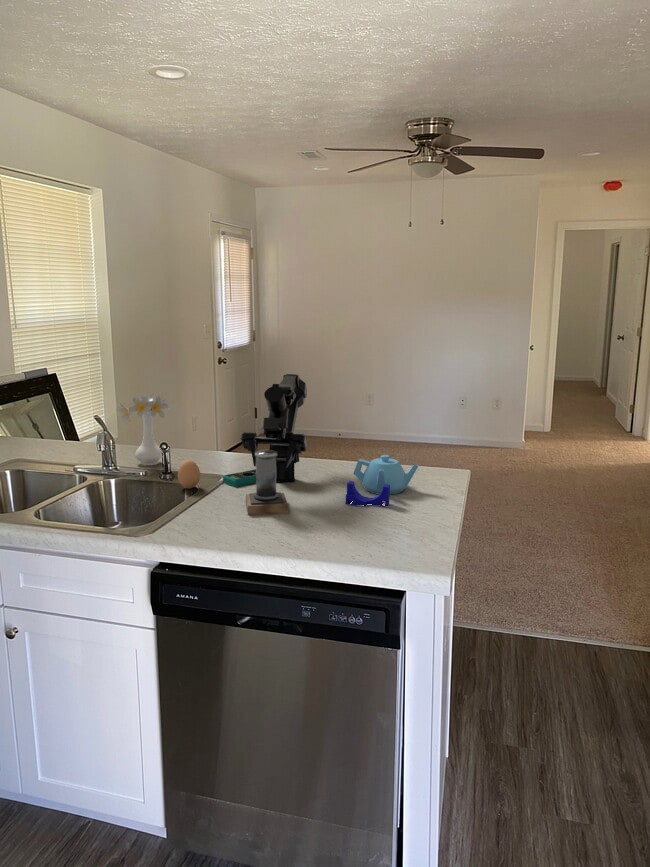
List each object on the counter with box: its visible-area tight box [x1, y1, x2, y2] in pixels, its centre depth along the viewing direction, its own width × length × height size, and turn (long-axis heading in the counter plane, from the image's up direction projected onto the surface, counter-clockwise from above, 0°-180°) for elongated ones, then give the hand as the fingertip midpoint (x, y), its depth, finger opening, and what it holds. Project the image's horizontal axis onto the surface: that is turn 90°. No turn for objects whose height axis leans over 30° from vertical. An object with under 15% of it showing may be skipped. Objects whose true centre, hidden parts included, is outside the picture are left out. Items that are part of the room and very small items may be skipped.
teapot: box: [352, 454, 419, 495], centre depth 207 cm, size 15×15×11 cm
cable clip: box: [344, 480, 391, 507], centre depth 192 cm, size 12×4×6 cm, turn 75°
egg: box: [177, 459, 201, 490], centre depth 205 cm, size 7×7×9 cm
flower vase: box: [116, 391, 172, 467], centre depth 231 cm, size 13×18×25 cm
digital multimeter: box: [222, 468, 256, 488], centre depth 215 cm, size 7×15×3 cm, turn 131°
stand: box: [245, 491, 289, 516], centre depth 188 cm, size 11×11×3 cm
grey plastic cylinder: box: [254, 449, 278, 501], centre depth 187 cm, size 7×7×13 cm
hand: (270, 466), depth 192 cm, fingers open, 9 cm apart
